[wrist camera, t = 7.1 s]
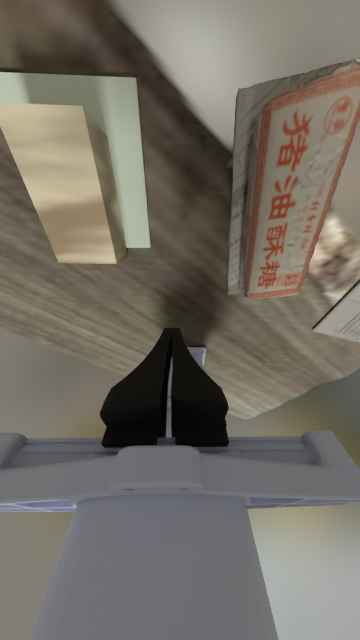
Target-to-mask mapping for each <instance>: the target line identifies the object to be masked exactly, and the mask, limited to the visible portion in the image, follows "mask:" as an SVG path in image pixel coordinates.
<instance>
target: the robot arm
mask: <svg viewBox="0 0 360 640" xmlns="http://www.w3.org/2000/svg"><path fill="white" fill-rule="evenodd" d="M202 351H204V352H202ZM205 354H206V348H205V347H187V346H186V344H185V342H184V340H183V337H182V335H181V331H180V329H179V328H165V329H164V330H163V332H162V334H161V336H160V338H159V340H158V341H157V343H156V345H155V346H154V348H153V349H152V350H151V352H150V353H149V354H148V356H147V357H146V358H145V359H144V360H143V361H142V362H141V363H140V364H139V365H138V366H137V367H136V368H135V369H134V370H133V371H132V372H131V373H130V374H129V375H128V376H126V377H125V378H124V379H123V380H122V381H120V382H119V383H117V384H116V385H115V386H114V387H112V388H111V390H110V392H109V393H108V395H107V397H106V399H105V402H104V404H103V406H102V409H101V411H100V417H101V419H102V420H103V422H104V423H105V425H106V426H107V428H106V431H105V434H104V437H103V438H63V439H62V438H58V439H57V438H56V439H55V438H51V439H27V438H26V437H25V436H24V435H21V434H18V433H0V511H40V512H41V511H42V512H47V511H49V512H74V515H73V518H72V521H71V524H70V526H69V529H68V532H67V535H66V538H65V540H64V543H63V546H62V549H61V552H60V554H59V558H58V560H57V563H56V566H55V569H54V571H53V574H52V577H51V580H50V582H49V585H48V588H47V591H46V594H45V597H44V599H43V602H42V605H41V608H40V610H39V613H38V616H37V619H36V622H35V624H34V627H33V630H32V633H31V635H30V638H29V640H278V636H277V632H276V628H275V624H274V620H273V615H272V611H271V607H270V603H269V599H268V595H267V591H266V586H265V582H264V578H263V574H262V570H261V566H260V561H259V557H258V553H257V549H256V545H255V541H254V537H253V533H252V528H251V524H250V520H249V516H248V512H247V509H254V508H275V507H299V506H324V505H325V506H326V505H347V504H353V503H359V502H360V470H359V469H358V467H357V466H356V464H355V463H354V462H353V460H352V459H351V458H350V456H349V455H348V454H347V452H346V451H345V450H344V448H343V447H342V445H341V444H340V443H339V442H338V440H337V439H336V437H335V436H334V435H333V433H332V432H331V431H308V432H306V433H304V434H303V435H302V436H301V437H300V436H296V437H228V434H227V429H226V421H225V416H226V414H227V411H228V408H229V407H228V403H227V400H226V398H225V395H224V393H223V391H222V389H221V387H220V386H218V385H217V384H216V383H215V382H214V381H213V380H212V379H211V378H210V377H209V376H208V375H207V374H206V373H205V372H204V368H203V366H204V360H205Z"/></svg>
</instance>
